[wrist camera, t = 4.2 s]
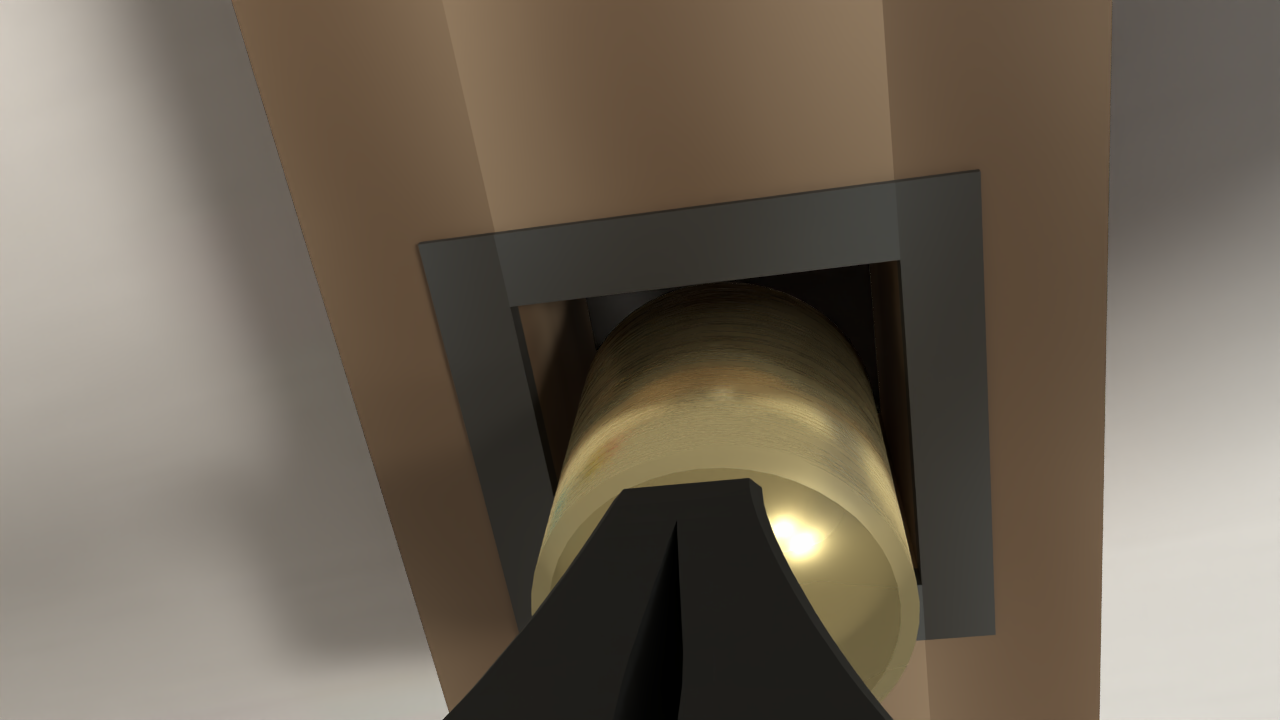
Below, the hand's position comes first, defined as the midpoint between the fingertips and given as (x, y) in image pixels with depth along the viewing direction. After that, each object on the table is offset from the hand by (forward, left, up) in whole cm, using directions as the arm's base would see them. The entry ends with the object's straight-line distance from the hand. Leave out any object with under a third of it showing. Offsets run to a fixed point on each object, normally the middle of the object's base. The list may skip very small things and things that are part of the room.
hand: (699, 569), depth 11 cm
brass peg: (0, +1, -6) cm, 6 cm away
